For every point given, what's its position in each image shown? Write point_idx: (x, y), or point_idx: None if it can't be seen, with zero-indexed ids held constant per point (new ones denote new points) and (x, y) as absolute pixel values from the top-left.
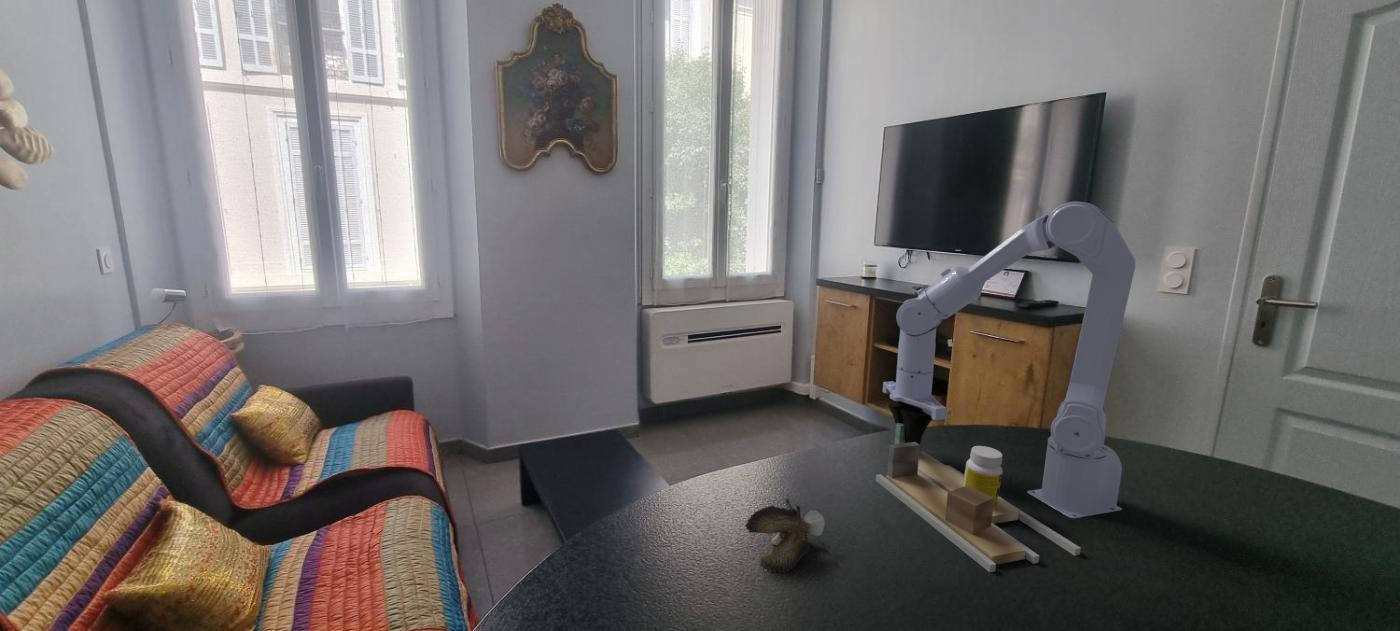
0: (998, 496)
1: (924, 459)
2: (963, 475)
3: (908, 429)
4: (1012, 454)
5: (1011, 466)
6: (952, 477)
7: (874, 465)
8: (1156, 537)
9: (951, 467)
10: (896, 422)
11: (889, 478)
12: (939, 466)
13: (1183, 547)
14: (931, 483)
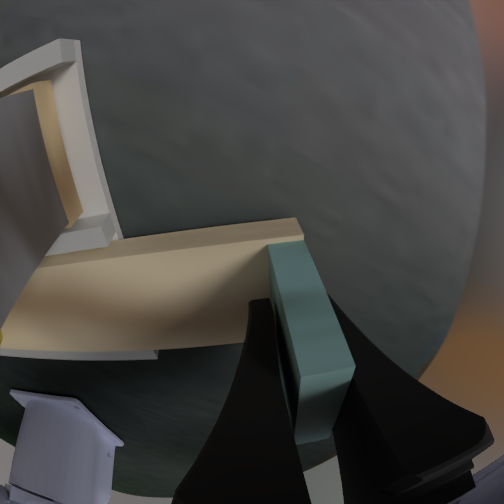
0: (4, 355)
1: (192, 317)
2: (89, 356)
3: (235, 394)
4: None
5: (203, 428)
6: (52, 326)
7: (266, 105)
8: (18, 419)
9: (141, 357)
10: (378, 367)
11: (13, 93)
12: (129, 333)
13: (9, 419)
14: None
